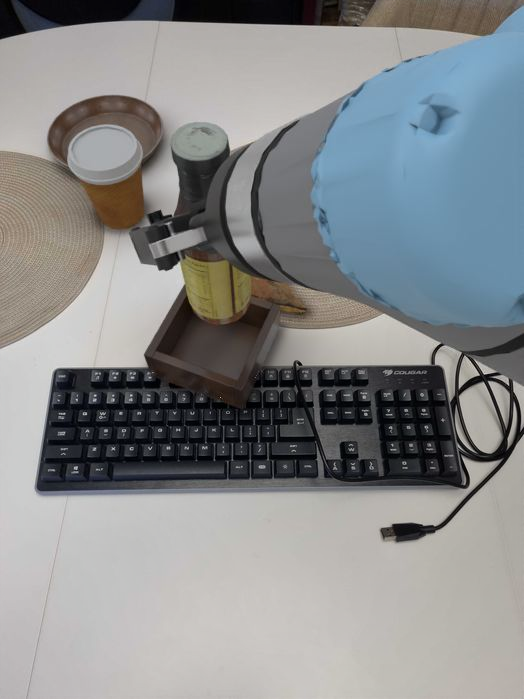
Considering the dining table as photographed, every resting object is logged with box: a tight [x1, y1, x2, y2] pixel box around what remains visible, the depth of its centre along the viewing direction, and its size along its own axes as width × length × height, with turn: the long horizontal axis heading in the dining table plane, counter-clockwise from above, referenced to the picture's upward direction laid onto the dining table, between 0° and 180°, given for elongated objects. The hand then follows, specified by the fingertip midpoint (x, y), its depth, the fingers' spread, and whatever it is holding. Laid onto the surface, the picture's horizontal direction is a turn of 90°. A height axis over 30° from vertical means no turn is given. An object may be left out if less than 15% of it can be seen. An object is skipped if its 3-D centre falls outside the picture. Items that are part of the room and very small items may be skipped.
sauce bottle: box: [170, 121, 251, 325], centre depth 46 cm, size 6×6×20 cm
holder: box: [143, 283, 282, 411], centre depth 65 cm, size 12×12×6 cm
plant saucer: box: [46, 94, 164, 169], centre depth 84 cm, size 18×18×3 cm
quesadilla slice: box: [251, 276, 308, 314], centre depth 71 cm, size 11×8×2 cm
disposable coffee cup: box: [67, 125, 145, 230], centre depth 73 cm, size 10×10×12 cm
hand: (196, 220), depth 49 cm, fingers closed on sauce bottle, 6 cm apart
